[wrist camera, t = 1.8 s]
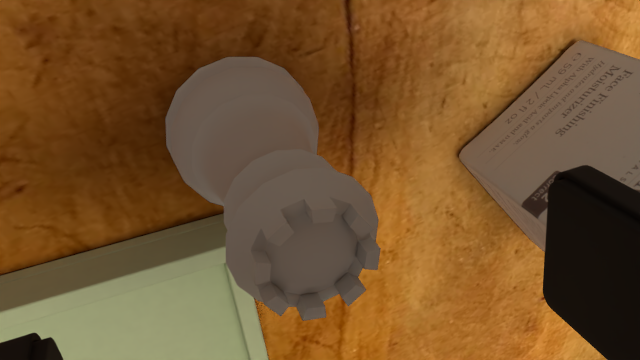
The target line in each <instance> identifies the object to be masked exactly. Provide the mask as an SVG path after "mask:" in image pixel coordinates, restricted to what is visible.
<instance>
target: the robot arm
mask: <svg viewBox="0 0 640 360" xmlns="http://www.w3.org/2000/svg"><path fill="white" fill-rule="evenodd" d="M543 294H544V298H545V300H546V302H547V304H548V305H549V307H550V308H551V309H552V310H553V311H554V312H556V313H557V314H558V315H559V316H560V317H561V318H562V319H563V320H564V321H565V322H567V323H568V324H569V325H570V326H571V327H572V328H573V329H574V330H575V331H576V332H578V333H579V334H580V335H581V336H582V337H583V338H584V339H585V340H586V341H587V342H589V343H590V344H591V345H592V346H593V347H594V348H595V349H596V350H597V351H599V352H600V353H601V354H602V355H603V356H604V357H605V358H606V359H607V360H640V192H638V191H636V190H634V189H633V188H631V187H629V186H627V185H625V184H623V183H621V182H619V181H618V180H616V179H614V178H612V177H610V176H608V175H606V174H605V173H603V172H601V171H599V170H597V169H595V168H593V167H591V166H588V165H582V166H579V167H576V168H572V169H569V170H566V171H562V172H560V173H558V174H557V175H556V176H555V178H554V181H553V183H551V184H550V186H549V189H548V205H547V223H546V242H545V260H544V279H543ZM0 360H63V357H62V355H61V353H60V351H59V349H58V347H57V345H56V343H55V341H54V339H53V338H51V337H49V338H45V339H41V338H40V336H39V335H38V334H37V333H31V334H28V335H24V336H21V337H18V338H14V339H11V340H8V341H5V342H1V343H0Z"/></svg>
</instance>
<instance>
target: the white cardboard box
mask: <svg viewBox="0 0 640 360" xmlns="http://www.w3.org/2000/svg"><path fill="white" fill-rule="evenodd" d="M459 158H460V160H461V162H462V163H463V164H464V165H465V166H466V167H467V169H468V170H469V171H470V172H471V173H472V174H473V176H474V177H475V178H476V179H477V180H478V181H479V182H480V184H481V185H482V186H483V187H484V188H485V189H486V190H487V192H488V193H489V194H490V195H491V196H492V197H493V198H494V200H495V201H496V202H497V203H498V204H499V205H500V206H501V207H502V209H503V210H504V211H505V212H506V213H507V214H508V215H509V216H510V217H511V219H512V220H513V221H514V222H515V223H516V224H517V225H518V226H519V227H520V229H521V230H522V231H523V232H524V233H525V234H526V235H527V236H528V237H529V239H531V240H532V241H533V242H534V243H535V244H536V245H537V246H538V247H539V248H541V249H542V250H543V251H544V252H545V242H546V223H547V205H548V189H549V186H550V184H551V183H553V181H554V178H555V176H556V175H557V174H558V173H560V172H562V171H566V170H569V169H572V168H576V167H579V166H582V165H588V166H591V167H593V168H595V169H597V170H599V171H601V172H603V173H605V174H606V175H608V176H610V177H612V178H614V179H616V180H618V181H619V182H621V183H623V184H625V185H627V186H629V187H631V188H633V189H634V190H636V191H638V192H640V60H639V59H636V58H633V57H630V56H627V55H624V54H622V53H619V52H616V51H613V50H610V49H607V48H604V47H601V46H598V45H595V44H592V43H589V42H586V41H583V40H581V41H578V42H576V43H575V44H573V45H572V46H570V47H569V48H568V49H567V50H566V51H565V52H564V54H563V55H562V56H561V57H560V58H559V59H558V60H557V61H556V62H555V63H554V64H553V65H552V66H551V67H550V68H549V69H548V70H547V71H546V72H545V73H544V74H543V75H542V76H541V77H540V78H539V79H538V80H537V81H536V82H535V83H534V84H533V85H532V86H531V87H530V88H528V89H527V90H526V91H525V92H524V93H523V94H522V95H521V96H520V97H519V98H518V99H517V100H516V101H515V102H514V103H513V104H512V105H511V106H510V107H509V108H508V109H507V110H505V111H504V112H503V113H502V114H501V115H500V116H499V117H498V118H497V119H496V120H495V121H493V122H492V123H491V124H490V125H489V126H488V127H487V128H486V129H485V130H483V131H482V132H481V133H480V134H479V135H478V136H477V137H475V138H474V139H473V140H472V141H471V142H470V143H469V144H467V145H466V146H465V147H464V148H463V149H462V151H461V153H460V155H459Z"/></svg>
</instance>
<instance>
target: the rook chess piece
mask: <svg viewBox="0 0 640 360" xmlns="http://www.w3.org/2000/svg"><path fill="white" fill-rule="evenodd" d="M165 120H166V146H167V148H168V150H169V152H170V154H171V156H172V159H173V161H174V163H175V165H176V167H177V169H178V171H179V173H180V175H181V177H182V178H183V180H184V182H185V183H186V184H187V185H189V186H190V187H191V188H192V189H194V190H195V191H196V192H197V193H199V194H200V195H201V196H202V197H204V198H205V199H206V200H208V201H209V202H211V203H215V204H218V205H222V206H224V224H225V226H226V228H227V233H226V264H227V266H228V268H229V270H230V272H231V274H232V276H233V278H234V280H235V282H236V284H237V286H238V287H240V288H241V289H243V290H244V291H245V292H247V293H248V294H249V295H251V296H252V297H254V298H255V299H256V300H258V301H261V302H263V303H264V304H265V305H266V306H267V307H269V308H270V309H272V310H273V311H274V312H276V313H277V314H278V315H280V316H282V314H283V313H284V312H285V310H286V309H287V308H288V307H297V309H298V311H299V314H300V316H301V318H302V320H303V321H304V320H311V319H317V318H324V317H326V311H325V306H324V304H323V301H325V300H327V299H329V298H331V297H333V296H335V295H337V294H340V295H341V297H342V298H343V300H344V301H345V303H346V304H347V305H348V306H349V305H350V304H352V303H353V302H354V301H355V300H356V299H357V298H358V297H359V296H360V295H361V294H362V293H363V292H364V291H366V289H365V287H364V286H363V284H362V283H361V281H360V280H359V278H358V276H359V274H360V272H361V270H362V268H364V269H371V270H377V269H378V262H379V255H380V248H379V246H378V245H377V244H376V242H375V241H376V234H377V227H378V217H377V213H376V210H375V207H374V204H373V201H372V197H371V195H370V194H369V193H368V192H367V191H366V190H365V189H364V188H363V187H362V186H361V185H360V184H359V183H358V182H357V181H356V180H355V179H354V178H353V177H351V176H348V175H346V174H343V173H340V172H337V171H336V170H335V169H334V168H333V167H332V166H331V165H330V164H329V163H328V162H327V161H326V160H325V159H324V158H323V157H321V156H318V155H317V145H318V132H319V127H318V122H317V119H316V116H315V113H314V110H313V107H312V104H311V101H310V98H309V97H308V96H307V95H306V94H305V93H304V90H303V88H302V87H301V86H300V85H299V84H298V83H297V81H296V80H295V79H294V78H293V77H292V76H291V75H290V74H289V73H288V72H287V71H286V70H285V69H284V68H282V67H280V66H278V65H275V64H273V63H271V62H268V61H266V60H264V59H261V58H259V57H226V58H223V59H221V60H219V61H216V62H214V63H211V64H209V65H206V66H204V67H202V68H199V69H198V70H197V71H196V72H195V73H194V74H193V75H192V76H191V77H190V78H189V79H188V80H187V81H186V82H185V83H184V84H183V85H182V86H181V87H180V88H179V89H178V90H177V91H176V93H175V96H174V98H173V101H172V103H171V106H170V108H169V110H168V113H167V115H166V118H165Z"/></svg>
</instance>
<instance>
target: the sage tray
mask: <svg viewBox="0 0 640 360" xmlns="http://www.w3.org/2000/svg"><path fill="white" fill-rule="evenodd" d="M226 233H227V228H226V226H225V224H224V213H223V214H219V215H216V216H212V217H209V218H205V219H202V220H198V221H194V222H191V223H187V224H184V225H180V226H177V227H173V228H169V229H166V230H162V231H159V232H155V233H152V234H148V235H144V236H141V237H137V238H134V239H130V240H127V241H123V242H119V243H116V244H112V245H109V246H105V247H102V248H98V249H94V250H91V251H87V252H84V253H80V254H76V255H73V256H69V257H66V258H62V259H59V260H55V261H51V262H48V263H44V264H41V265H37V266H34V267H30V268H26V269H23V270H19V271H16V272H12V273H9V274H5V275H1V276H0V343H1V342H5V341H8V340H11V339H14V338H18V337H21V336H24V335H28V334H31V333H37V334H38V335H39V336H40V338H41V339H45V338H49V337H51V338H53V339H54V341H55V343H56V345H57V347H58V349H59V351H60V353H61V355H62V357H63V360H269V358H268V354H267V350H266V346H265V342H264V338H263V333H262V329H261V325H260V321H259V317H258V313H257V308H256V304H255V300H254V297H252V296H251V295H249V294H248V293H247V292H245V291H244V290H243V289H241V288H240V287H238V286H237V284H236V282H235V280H234V278H233V276H232V274H231V272H230V270H229V268H228V266H227V264H226Z"/></svg>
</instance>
